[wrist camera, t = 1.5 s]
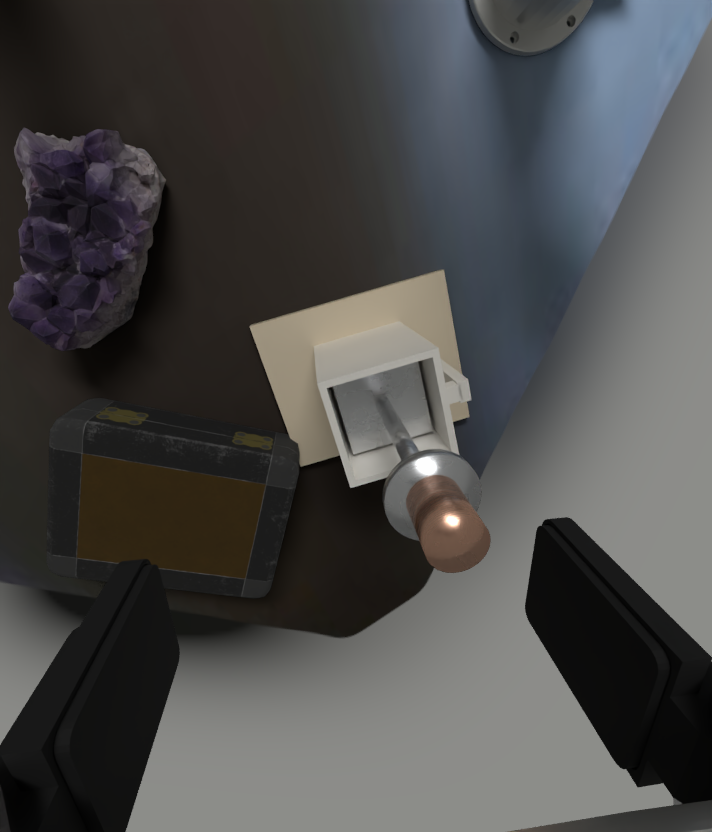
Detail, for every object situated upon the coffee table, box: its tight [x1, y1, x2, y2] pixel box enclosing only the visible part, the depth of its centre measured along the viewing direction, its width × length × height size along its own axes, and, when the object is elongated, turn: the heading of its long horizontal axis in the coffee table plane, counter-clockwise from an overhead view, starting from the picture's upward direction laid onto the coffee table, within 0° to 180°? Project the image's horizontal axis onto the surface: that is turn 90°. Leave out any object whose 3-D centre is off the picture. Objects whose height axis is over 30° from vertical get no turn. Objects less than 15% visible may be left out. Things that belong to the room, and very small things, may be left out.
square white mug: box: [249, 270, 471, 488], centre depth 42 cm, size 22×18×16 cm
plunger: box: [333, 362, 490, 573], centre depth 29 cm, size 8×8×21 cm
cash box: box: [47, 398, 300, 599], centre depth 49 cm, size 25×20×8 cm
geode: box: [8, 128, 166, 351], centre depth 38 cm, size 20×12×10 cm, turn 161°
